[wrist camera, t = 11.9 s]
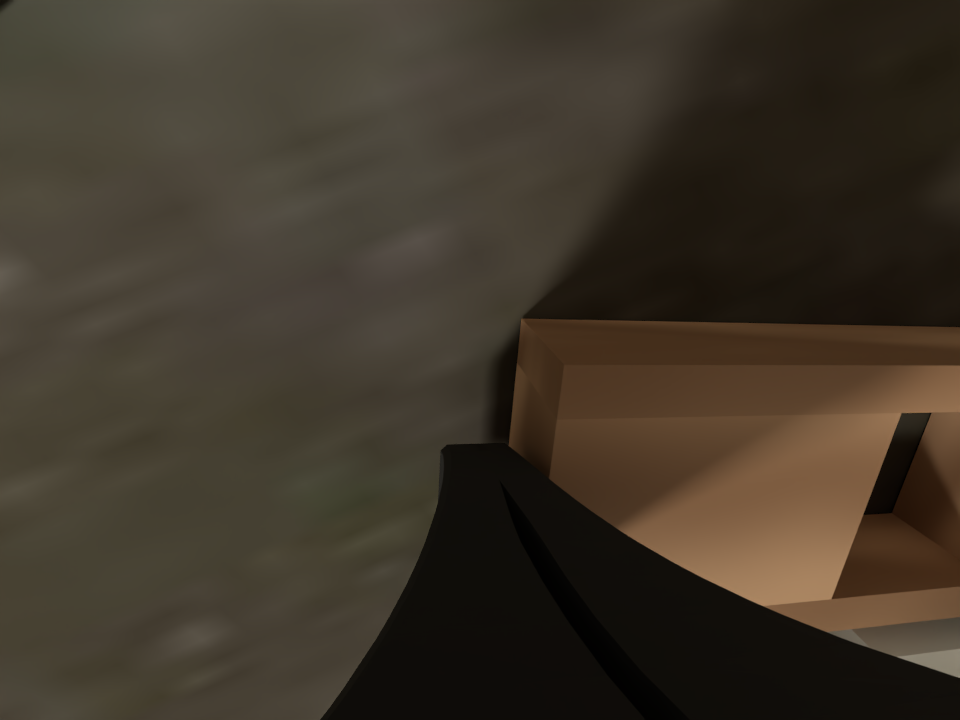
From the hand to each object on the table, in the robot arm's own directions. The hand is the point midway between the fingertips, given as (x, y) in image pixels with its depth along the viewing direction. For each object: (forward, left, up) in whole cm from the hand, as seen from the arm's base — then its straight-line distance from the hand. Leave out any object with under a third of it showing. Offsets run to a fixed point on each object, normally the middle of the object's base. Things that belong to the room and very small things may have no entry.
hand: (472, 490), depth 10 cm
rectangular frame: (0, -7, -1) cm, 7 cm away
